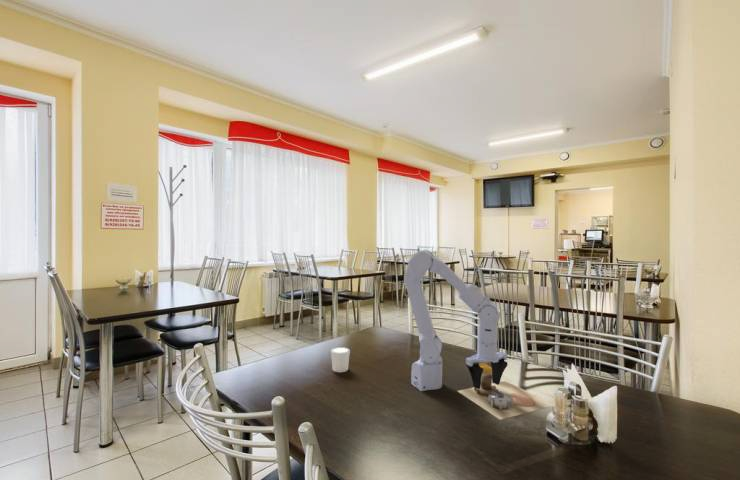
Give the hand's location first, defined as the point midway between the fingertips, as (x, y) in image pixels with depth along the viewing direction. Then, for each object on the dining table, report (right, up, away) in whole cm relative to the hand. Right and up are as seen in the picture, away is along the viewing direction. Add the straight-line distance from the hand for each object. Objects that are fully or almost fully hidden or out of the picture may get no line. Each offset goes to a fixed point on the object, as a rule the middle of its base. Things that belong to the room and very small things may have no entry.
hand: (486, 385), depth 108 cm
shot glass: (-47, -2, +19) cm, 50 cm away
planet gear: (0, -2, 0) cm, 2 cm away
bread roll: (+4, -3, +16) cm, 17 cm away
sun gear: (+1, -2, -8) cm, 8 cm away
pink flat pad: (+8, -2, -5) cm, 10 cm away
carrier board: (+4, -3, -4) cm, 6 cm away
